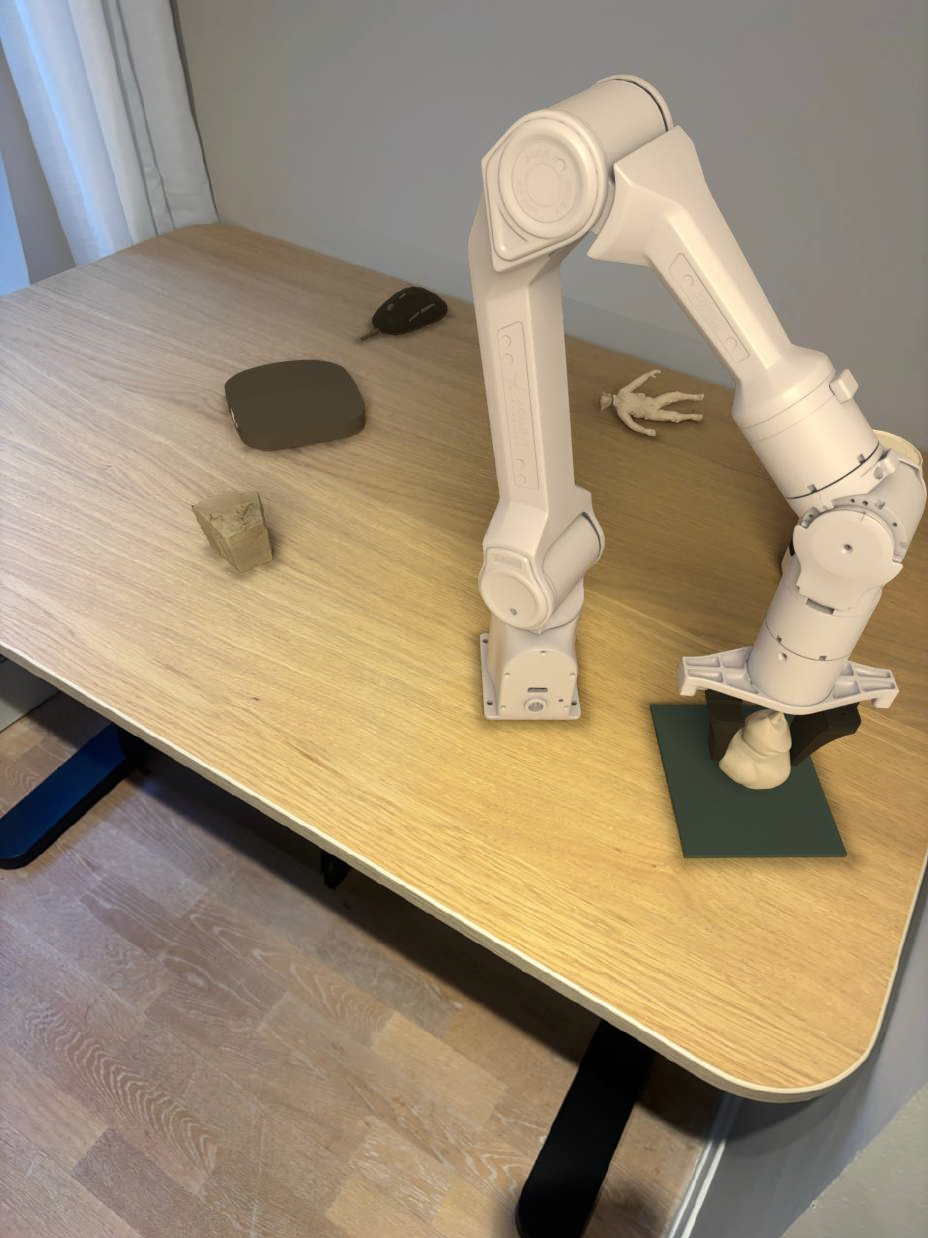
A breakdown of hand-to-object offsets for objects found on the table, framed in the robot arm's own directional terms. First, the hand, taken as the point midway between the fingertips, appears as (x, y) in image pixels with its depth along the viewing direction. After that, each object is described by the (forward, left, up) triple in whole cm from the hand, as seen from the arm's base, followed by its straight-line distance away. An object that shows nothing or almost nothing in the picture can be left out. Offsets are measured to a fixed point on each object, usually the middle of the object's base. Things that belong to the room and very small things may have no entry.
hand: (752, 752), depth 66 cm
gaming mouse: (+74, +28, -3) cm, 79 cm away
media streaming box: (+51, +40, -3) cm, 65 cm away
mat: (0, 0, -3) cm, 3 cm away
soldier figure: (+51, -2, -3) cm, 51 cm away
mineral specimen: (+25, +42, -3) cm, 49 cm away
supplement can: (+23, -14, -3) cm, 27 cm away
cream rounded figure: (0, 0, -2) cm, 2 cm away
